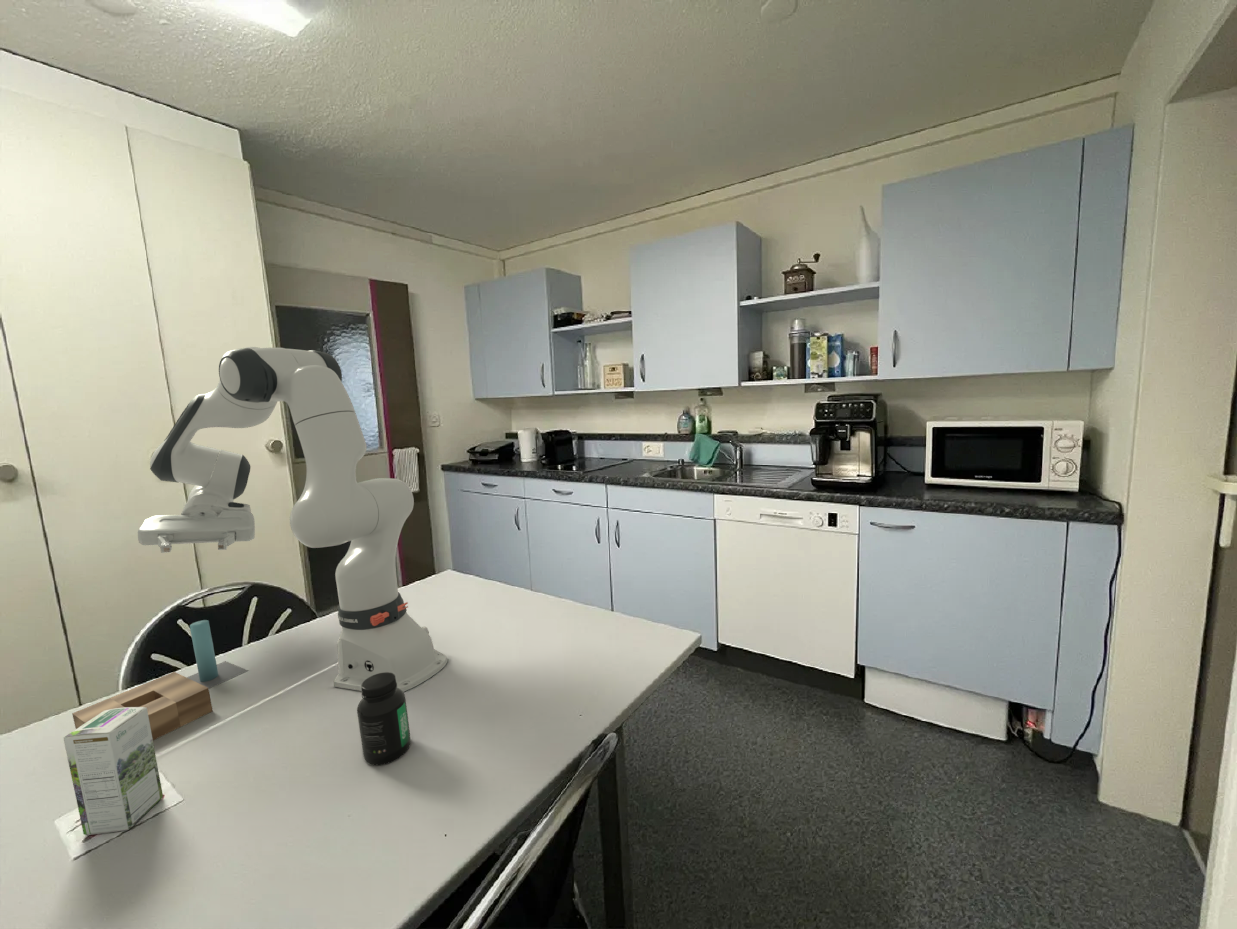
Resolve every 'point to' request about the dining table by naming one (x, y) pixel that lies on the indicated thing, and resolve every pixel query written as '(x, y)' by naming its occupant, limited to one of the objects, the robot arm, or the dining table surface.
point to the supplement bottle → (383, 720)
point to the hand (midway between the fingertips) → (194, 548)
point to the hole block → (158, 703)
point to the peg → (204, 650)
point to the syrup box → (113, 769)
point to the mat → (220, 674)
